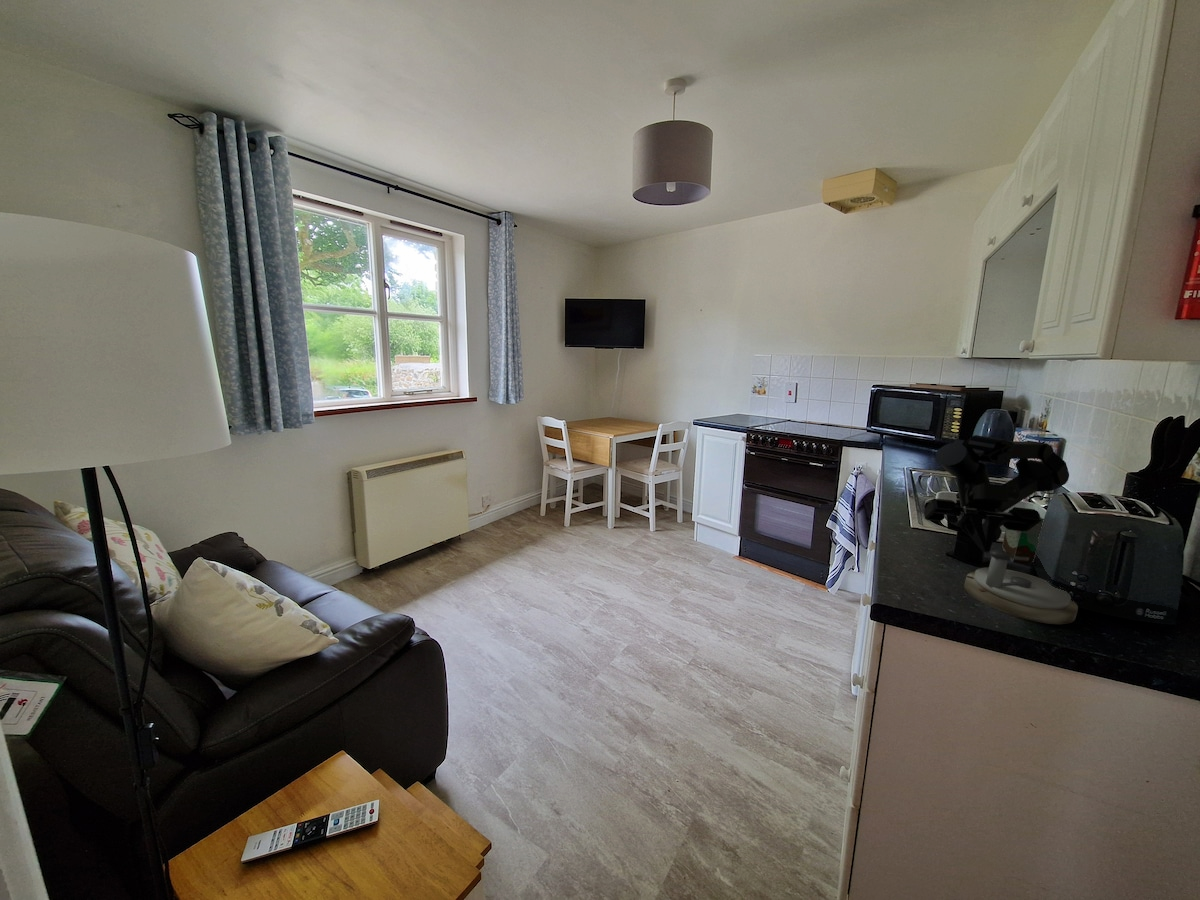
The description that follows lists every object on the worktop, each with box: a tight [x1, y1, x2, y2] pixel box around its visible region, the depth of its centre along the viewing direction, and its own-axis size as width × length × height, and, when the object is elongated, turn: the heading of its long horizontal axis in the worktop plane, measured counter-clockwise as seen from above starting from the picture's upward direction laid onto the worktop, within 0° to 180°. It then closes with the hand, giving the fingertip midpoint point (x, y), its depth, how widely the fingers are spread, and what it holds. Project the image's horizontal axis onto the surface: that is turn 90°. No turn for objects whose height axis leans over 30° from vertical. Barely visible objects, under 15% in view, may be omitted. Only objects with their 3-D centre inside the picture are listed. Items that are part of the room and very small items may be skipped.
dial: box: [974, 548, 1072, 609], centre depth 88 cm, size 14×14×8 cm
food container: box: [1001, 509, 1044, 564], centre depth 108 cm, size 12×6×10 cm, turn 151°
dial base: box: [963, 571, 1079, 625], centre depth 89 cm, size 16×16×2 cm
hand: (986, 551), depth 93 cm, fingers closed
